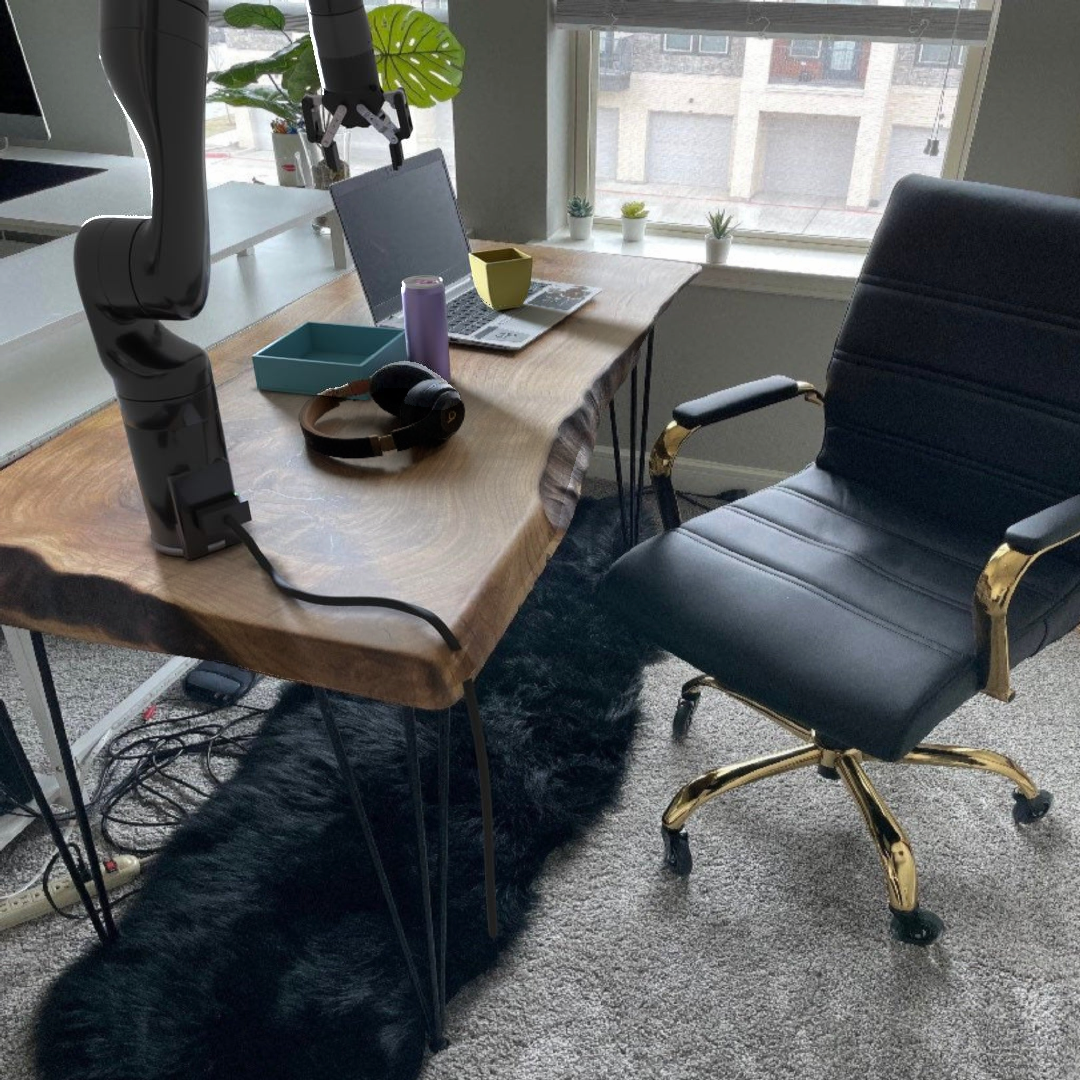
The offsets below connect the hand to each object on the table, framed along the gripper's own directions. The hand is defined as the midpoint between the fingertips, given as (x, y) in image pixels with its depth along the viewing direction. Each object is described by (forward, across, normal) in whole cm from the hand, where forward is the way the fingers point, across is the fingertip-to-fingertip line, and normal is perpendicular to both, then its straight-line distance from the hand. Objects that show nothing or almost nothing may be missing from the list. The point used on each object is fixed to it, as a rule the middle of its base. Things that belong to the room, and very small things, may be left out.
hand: (367, 169), depth 138 cm
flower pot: (+34, +14, +20) cm, 42 cm away
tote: (+25, -7, -13) cm, 29 cm away
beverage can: (+25, +8, -16) cm, 31 cm away
